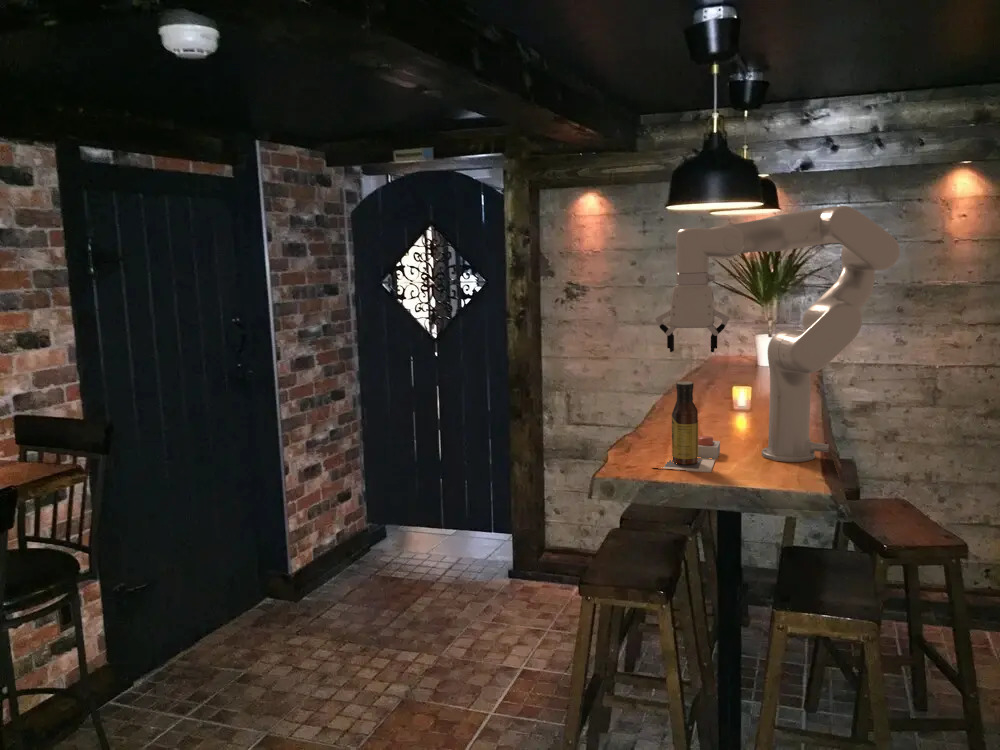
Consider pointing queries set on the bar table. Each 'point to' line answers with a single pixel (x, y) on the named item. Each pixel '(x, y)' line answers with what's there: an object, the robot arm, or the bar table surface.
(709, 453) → the button housing
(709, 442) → the button
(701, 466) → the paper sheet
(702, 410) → the bar table surface
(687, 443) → the sauce bottle
